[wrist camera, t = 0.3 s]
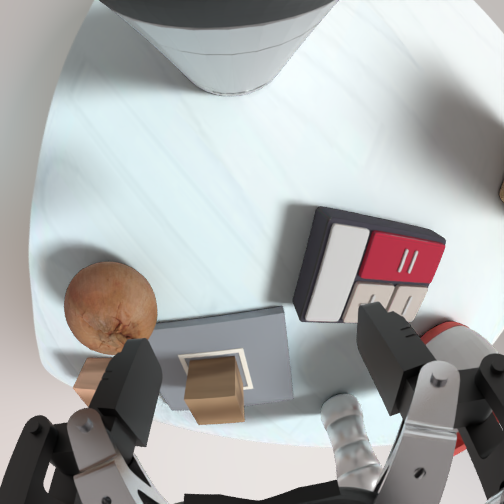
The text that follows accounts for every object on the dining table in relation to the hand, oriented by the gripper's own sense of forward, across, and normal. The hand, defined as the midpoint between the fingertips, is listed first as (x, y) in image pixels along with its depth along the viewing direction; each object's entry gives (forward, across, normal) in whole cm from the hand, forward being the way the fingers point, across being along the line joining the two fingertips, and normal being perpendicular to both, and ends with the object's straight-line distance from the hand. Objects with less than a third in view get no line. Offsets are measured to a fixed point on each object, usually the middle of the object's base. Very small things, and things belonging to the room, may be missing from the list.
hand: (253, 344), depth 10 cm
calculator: (+18, -12, +8) cm, 23 cm away
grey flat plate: (+18, +7, +18) cm, 27 cm away
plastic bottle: (+19, -9, +31) cm, 38 cm away
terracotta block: (+18, +23, +18) cm, 34 cm away
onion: (+18, +14, +5) cm, 23 cm away
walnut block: (+17, +7, +18) cm, 26 cm away
